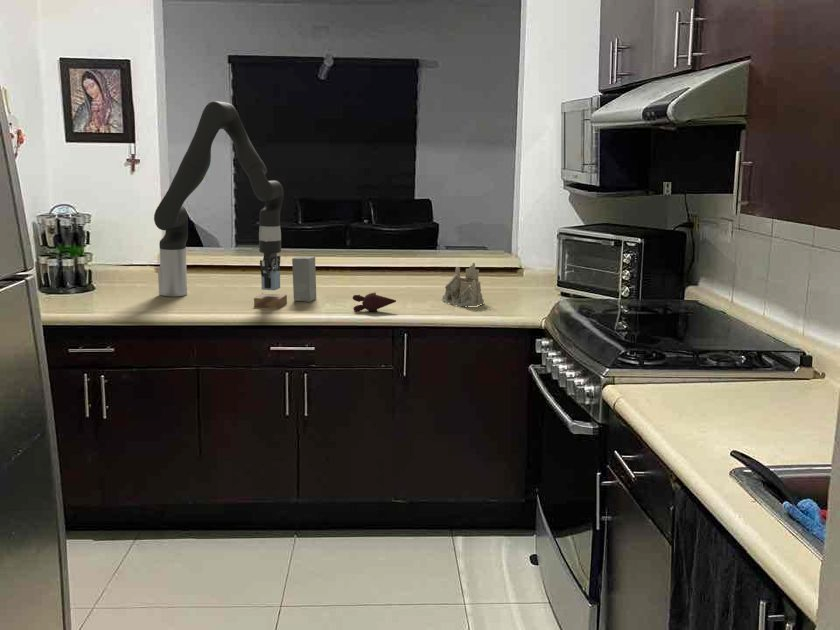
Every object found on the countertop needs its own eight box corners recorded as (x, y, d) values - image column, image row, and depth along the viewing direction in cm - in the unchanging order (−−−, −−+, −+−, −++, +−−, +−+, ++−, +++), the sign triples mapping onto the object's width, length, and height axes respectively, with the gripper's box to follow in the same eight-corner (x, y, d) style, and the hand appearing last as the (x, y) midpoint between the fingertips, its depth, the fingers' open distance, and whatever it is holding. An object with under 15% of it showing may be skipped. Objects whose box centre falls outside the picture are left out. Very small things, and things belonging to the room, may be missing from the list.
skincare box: (310, 302, 313) (310, 259, 310) (291, 301, 315) (291, 257, 311) (317, 298, 321) (317, 255, 318) (299, 297, 323) (298, 254, 319)
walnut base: (254, 307, 304) (254, 298, 303) (262, 302, 312) (262, 293, 311) (279, 309, 302) (278, 299, 301) (286, 304, 311) (286, 294, 310)
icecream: (396, 291, 304) (353, 294, 305) (395, 290, 297) (351, 292, 297) (397, 311, 304) (354, 313, 304) (396, 310, 297) (352, 313, 297)
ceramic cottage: (446, 296, 330) (448, 258, 326) (488, 302, 325) (491, 263, 321) (434, 306, 316) (436, 266, 312) (477, 312, 311) (480, 271, 307)
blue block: (261, 289, 304) (261, 272, 303) (266, 287, 309) (266, 270, 308) (275, 290, 303) (274, 273, 302) (280, 288, 308) (280, 271, 307)
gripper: (267, 235, 310) (268, 282, 313) (251, 240, 296) (252, 289, 300) (287, 236, 308) (287, 284, 312) (272, 241, 295) (273, 291, 298)
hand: (270, 286), depth 306 cm, fingers closed on blue block, 5 cm apart
